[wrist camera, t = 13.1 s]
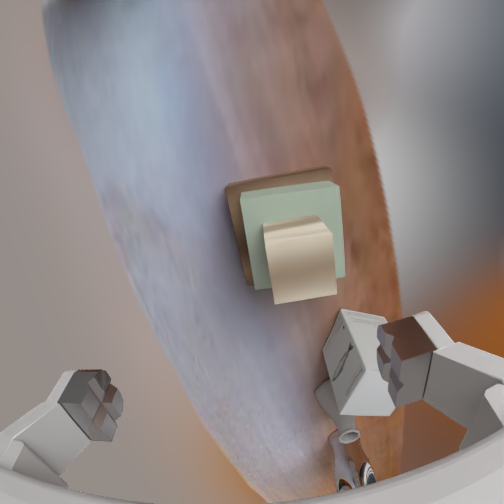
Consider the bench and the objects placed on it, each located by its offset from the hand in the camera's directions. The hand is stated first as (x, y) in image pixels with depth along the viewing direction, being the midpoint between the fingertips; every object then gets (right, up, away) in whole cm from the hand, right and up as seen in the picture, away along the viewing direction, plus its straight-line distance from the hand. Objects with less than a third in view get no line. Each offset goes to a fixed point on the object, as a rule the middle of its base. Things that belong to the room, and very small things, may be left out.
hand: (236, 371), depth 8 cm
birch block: (+4, +4, +21) cm, 22 cm away
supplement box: (+15, -8, +33) cm, 37 cm away
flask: (+14, -19, +37) cm, 44 cm away
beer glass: (+18, -31, +42) cm, 55 cm away
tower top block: (+5, +6, +24) cm, 25 cm away
